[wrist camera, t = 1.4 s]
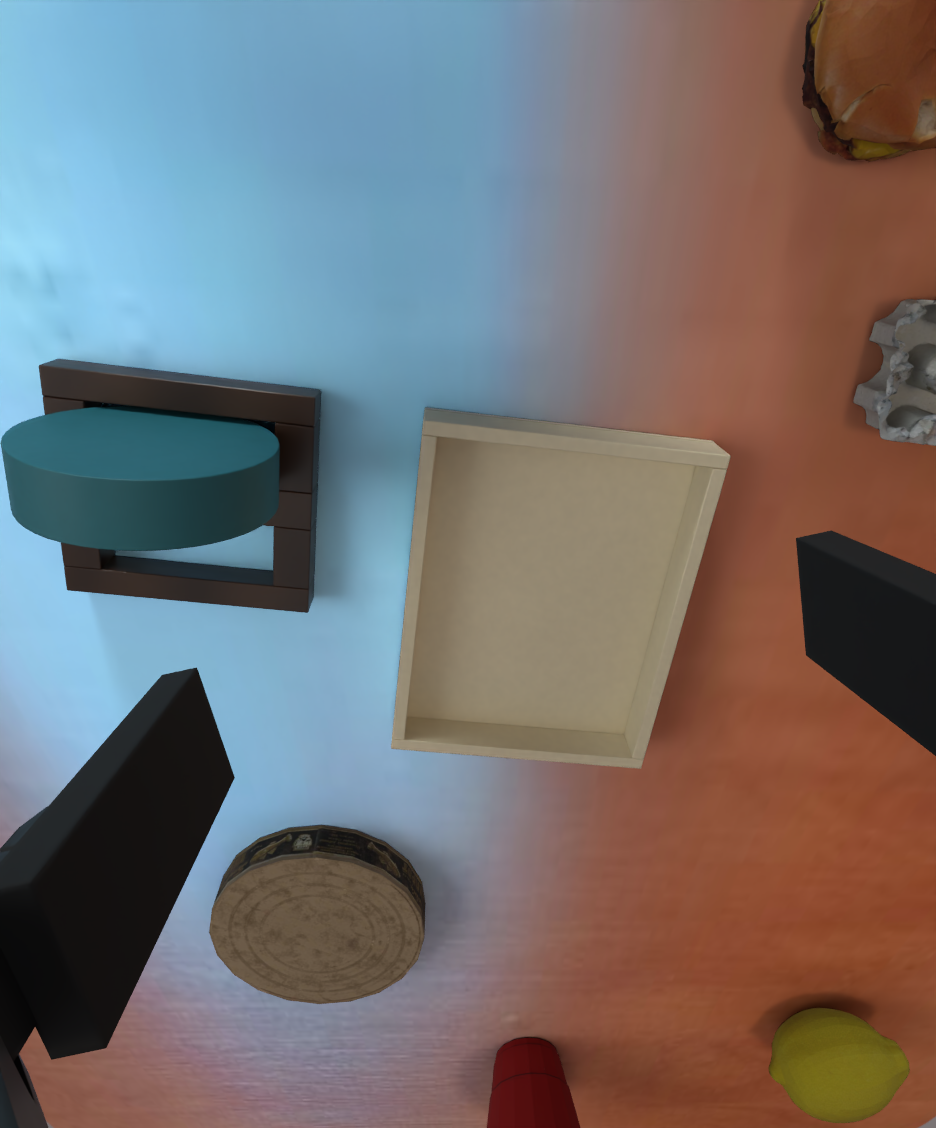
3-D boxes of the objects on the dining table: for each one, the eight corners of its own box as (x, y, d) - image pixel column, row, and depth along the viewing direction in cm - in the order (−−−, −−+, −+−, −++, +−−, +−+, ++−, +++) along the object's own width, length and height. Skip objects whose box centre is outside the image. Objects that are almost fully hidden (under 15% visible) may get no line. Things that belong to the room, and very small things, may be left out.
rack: (82, 575, 44) (66, 590, 42) (56, 358, 38) (37, 364, 36) (313, 597, 45) (308, 613, 43) (321, 389, 39) (315, 397, 38)
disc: (87, 451, 41) (-50, 533, 30) (80, 395, 39) (-65, 459, 28) (300, 476, 41) (242, 564, 30) (301, 421, 40) (242, 494, 29)
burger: (989, -130, 31) (1075, -185, 26) (1006, 106, 35) (1084, 91, 30) (763, -20, 32) (810, -56, 28) (803, 195, 36) (850, 192, 32)
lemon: (748, 1047, 66) (785, 1149, 59) (755, 992, 62) (795, 1093, 55) (866, 1037, 66) (918, 1138, 58) (879, 982, 62) (936, 1081, 55)
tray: (424, 406, 40) (423, 420, 37) (712, 440, 41) (731, 455, 38) (393, 720, 49) (391, 749, 46) (630, 739, 50) (641, 769, 48)
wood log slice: (199, 942, 58) (187, 977, 55) (250, 801, 52) (240, 832, 49) (385, 986, 61) (383, 1021, 58) (455, 857, 55) (456, 890, 52)
